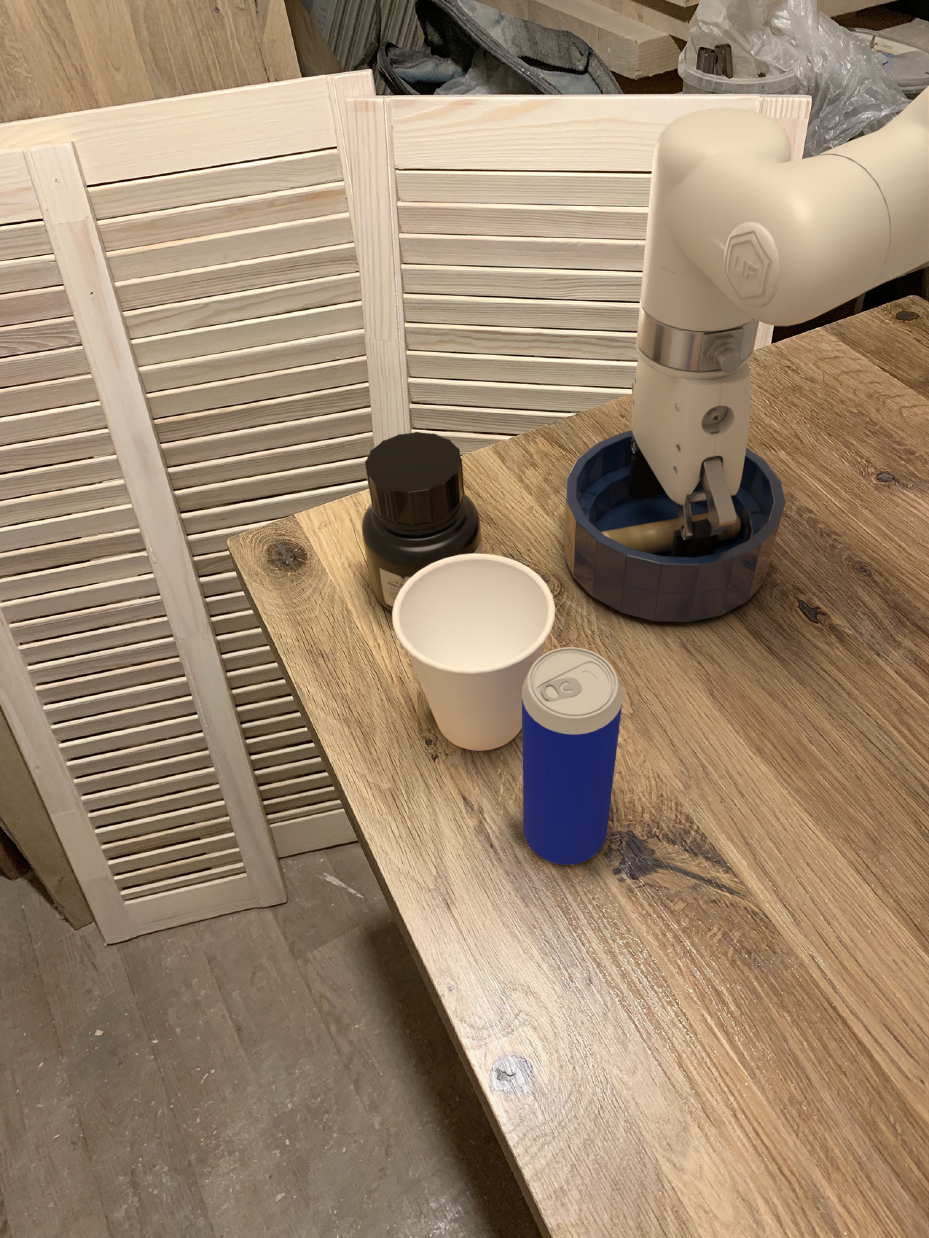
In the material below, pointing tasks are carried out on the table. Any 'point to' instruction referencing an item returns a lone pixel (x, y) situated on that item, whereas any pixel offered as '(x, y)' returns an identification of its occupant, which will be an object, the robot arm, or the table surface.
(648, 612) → the bowl
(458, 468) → the ink bottle
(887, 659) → the table surface
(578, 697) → the beverage can
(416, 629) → the cup
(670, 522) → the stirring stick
